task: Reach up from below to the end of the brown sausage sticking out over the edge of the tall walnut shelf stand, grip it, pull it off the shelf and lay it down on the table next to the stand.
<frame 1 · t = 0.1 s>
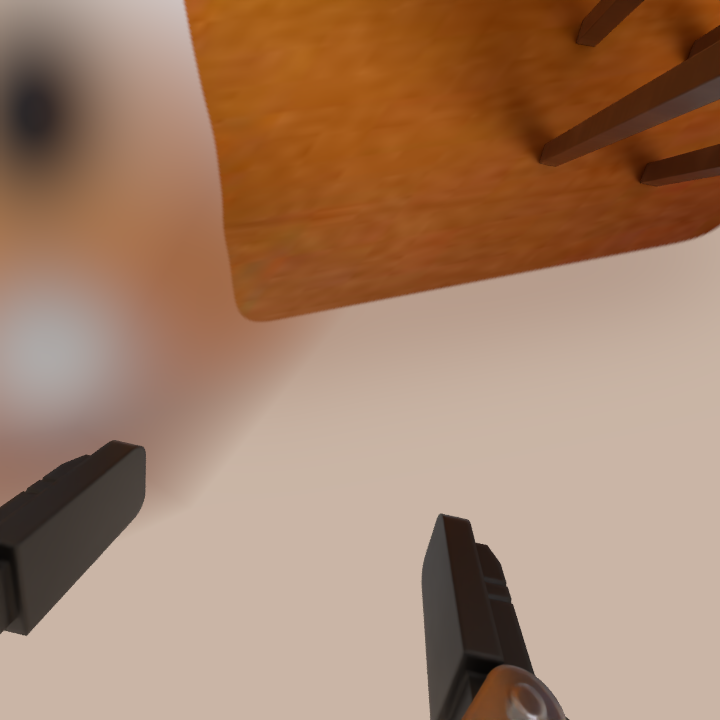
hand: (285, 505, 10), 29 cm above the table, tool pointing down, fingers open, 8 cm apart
shelf stand: (621, 107, 31), on the table
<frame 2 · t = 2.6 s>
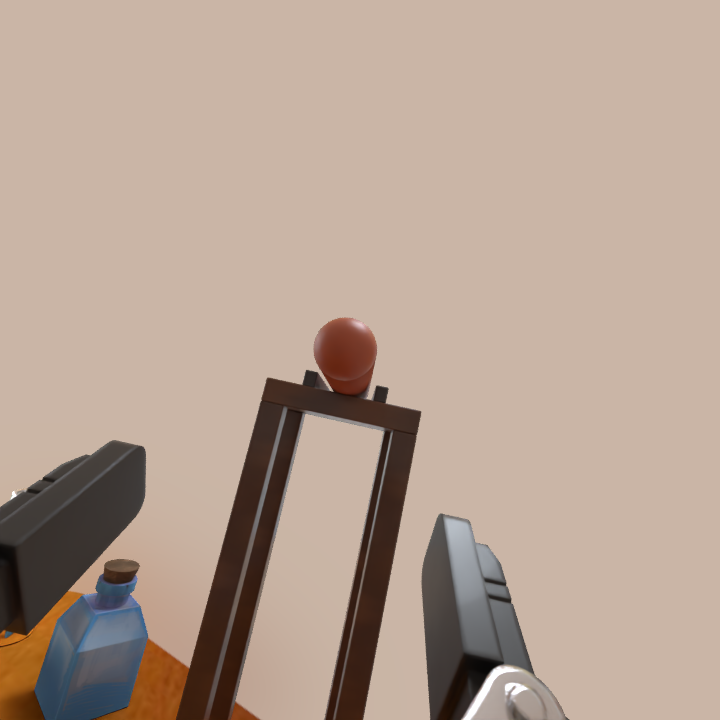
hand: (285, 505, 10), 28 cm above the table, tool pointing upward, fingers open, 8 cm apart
sausage: (345, 397, 27), point 32 cm above the table, touching shelf stand
perfume bottle: (80, 700, 37), on the table
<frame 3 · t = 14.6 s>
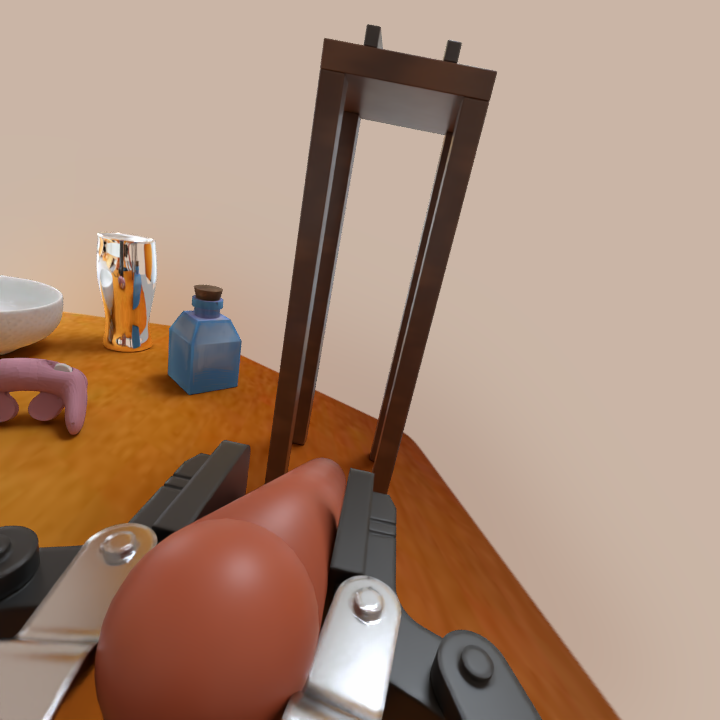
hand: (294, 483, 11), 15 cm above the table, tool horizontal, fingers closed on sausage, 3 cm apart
sausage: (290, 554, 14), point 11 cm above the table, tilted 30°, touching gripper
shelf stand: (331, 472, 37), on the table
perfume bottle: (202, 381, 50), on the table
silver metal tumbler: (128, 345, 56), on the table
video game controller: (22, 426, 35), on the table
when the fingers open (7 cm above the table, at t = 17.1 s): sausage drops 4 cm, on the table.
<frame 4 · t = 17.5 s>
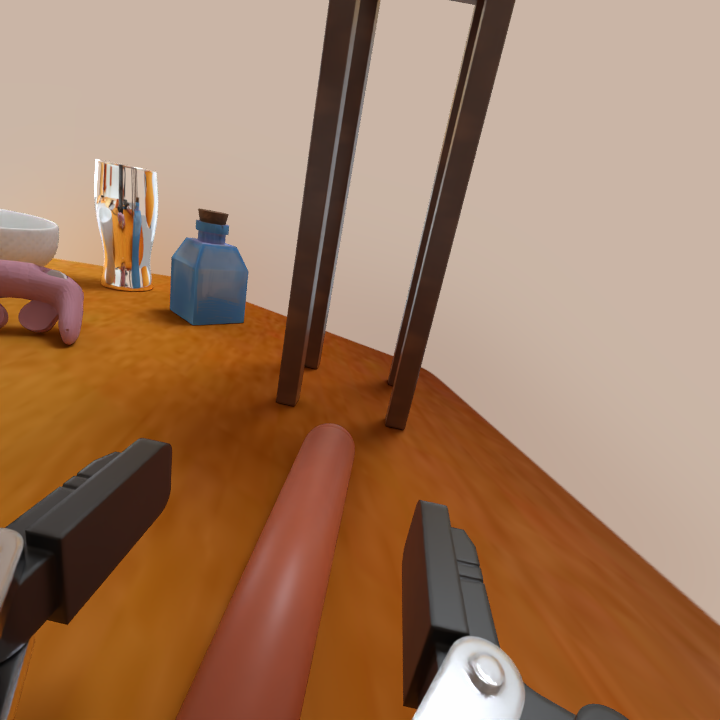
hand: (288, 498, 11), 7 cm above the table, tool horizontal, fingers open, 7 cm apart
sausage: (280, 613, 14), on the table
shelf stand: (347, 390, 34), on the table
perfume bottle: (206, 317, 47), on the table
silver metal tumbler: (127, 287, 53), on the table
video game controller: (12, 336, 32), on the table
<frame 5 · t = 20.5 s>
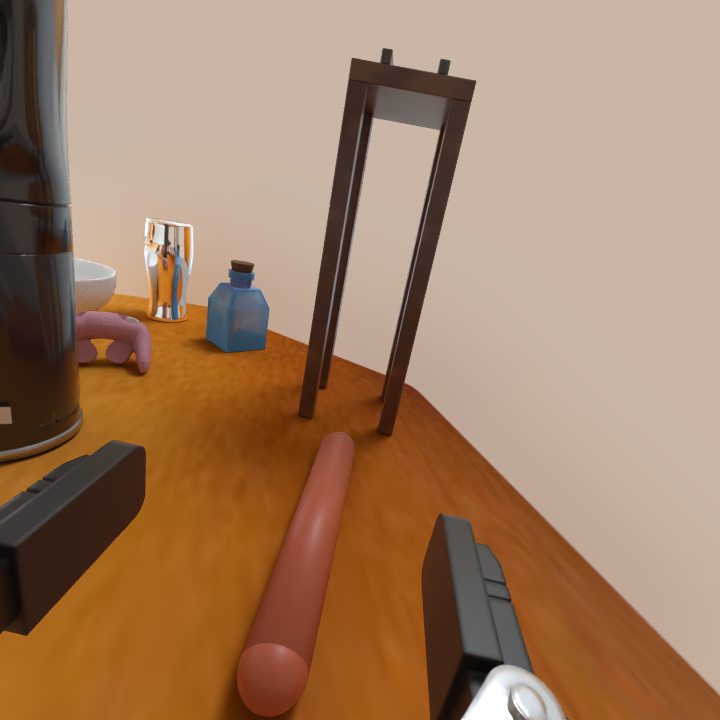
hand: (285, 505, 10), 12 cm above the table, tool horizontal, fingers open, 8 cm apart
sausage: (314, 540, 26), on the table
shelf stand: (350, 405, 46), on the table
perfume bottle: (235, 344, 59), on the table
silver metal tumbler: (167, 318, 65), on the table
cereal bowl: (46, 315, 56), on the table
video game controller: (101, 367, 44), on the table
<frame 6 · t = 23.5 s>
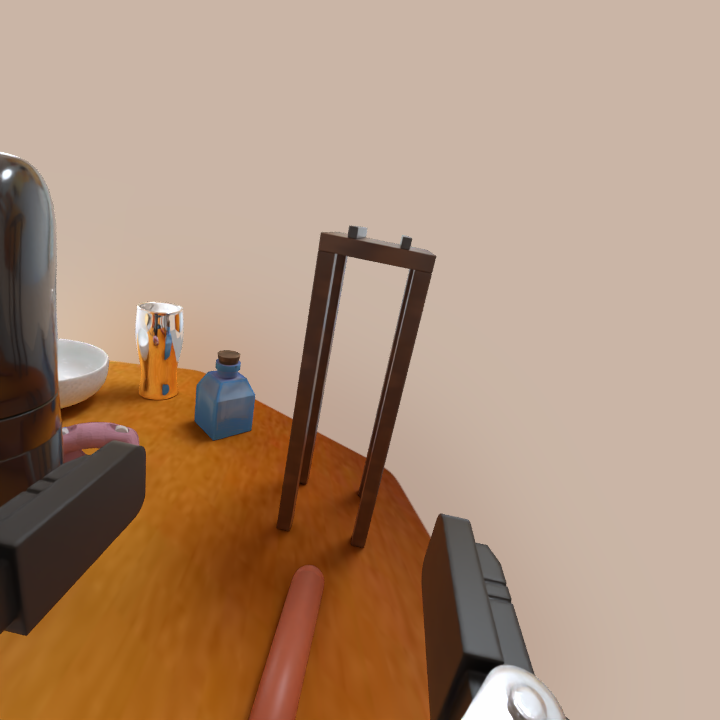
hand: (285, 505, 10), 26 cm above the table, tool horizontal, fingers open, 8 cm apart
sausage: (278, 704, 28), on the table, tilted 5°
shelf stand: (327, 508, 48), on the table
perfume bottle: (222, 426, 61), on the table
silver metal tumbler: (158, 393, 67), on the table
cereal bowl: (41, 402, 58), on the table
video game controller: (91, 475, 46), on the table
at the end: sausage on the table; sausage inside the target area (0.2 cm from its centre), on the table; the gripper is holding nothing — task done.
